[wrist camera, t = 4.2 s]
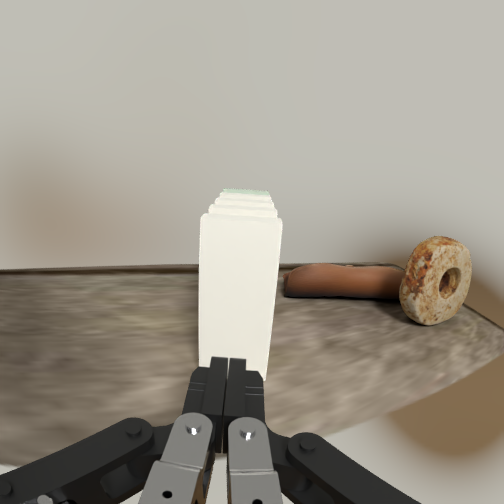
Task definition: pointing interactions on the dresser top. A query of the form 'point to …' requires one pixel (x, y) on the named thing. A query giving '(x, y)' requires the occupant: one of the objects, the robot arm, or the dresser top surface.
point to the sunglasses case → (343, 281)
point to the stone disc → (435, 280)
